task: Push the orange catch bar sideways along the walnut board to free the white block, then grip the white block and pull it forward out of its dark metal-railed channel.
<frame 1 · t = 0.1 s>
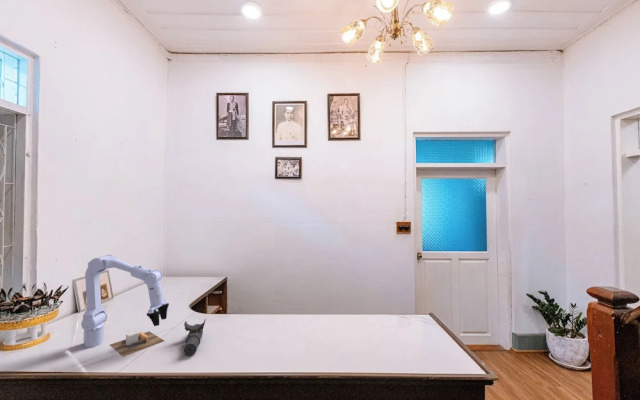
hand: (160, 322, 142), 11 cm above the counter, tool pointing down, fingers open, 7 cm apart
laser sight: (194, 345, 141), on the counter
catch bar: (143, 337, 143), point 2 cm above the counter, slide at 0.0 cm
base board: (137, 344, 140), on the counter
white block: (132, 343, 139), point 1 cm above the counter, touching base board
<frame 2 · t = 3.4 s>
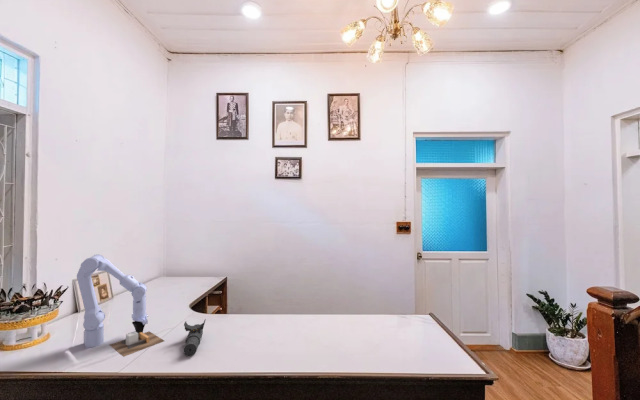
hand: (139, 334, 147), 2 cm above the counter, tool pointing down, fingers closed
catch bar: (144, 337, 143), point 2 cm above the counter, slide at 0.4 cm, touching gripper
everything else where it was.
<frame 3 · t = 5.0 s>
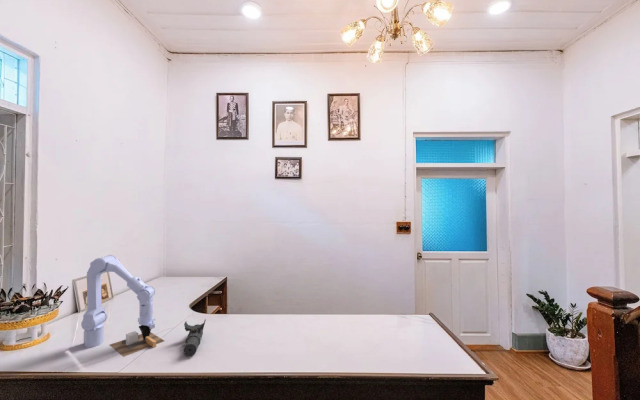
hand: (146, 339, 142), 2 cm above the counter, tool pointing down, fingers closed, pressing on base board
catch bar: (150, 341, 139), point 2 cm above the counter, slide at 8.0 cm, touching gripper
everything else where it was.
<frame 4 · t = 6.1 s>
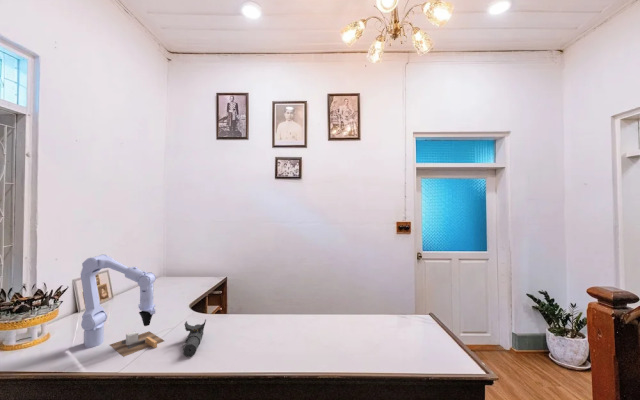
hand: (146, 325, 141), 9 cm above the counter, tool pointing down, fingers closed
catch bar: (151, 342, 138), point 2 cm above the counter, slide at 8.9 cm
everything else where it was.
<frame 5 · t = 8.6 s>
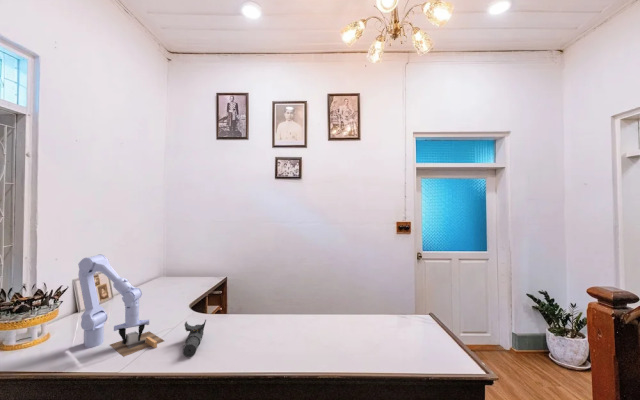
hand: (132, 342, 139), 2 cm above the counter, tool pointing down, fingers closed on white block, 5 cm apart
white block: (132, 343, 139), point 1 cm above the counter, touching base board, gripper
everything else where it was.
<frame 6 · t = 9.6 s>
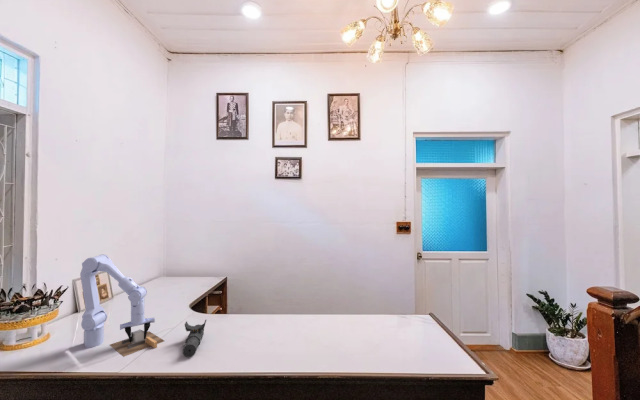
hand: (137, 340, 141), 2 cm above the counter, tool pointing down, fingers closed on white block, 5 cm apart
white block: (137, 341, 141), point 1 cm above the counter, touching gripper
everything else where it was.
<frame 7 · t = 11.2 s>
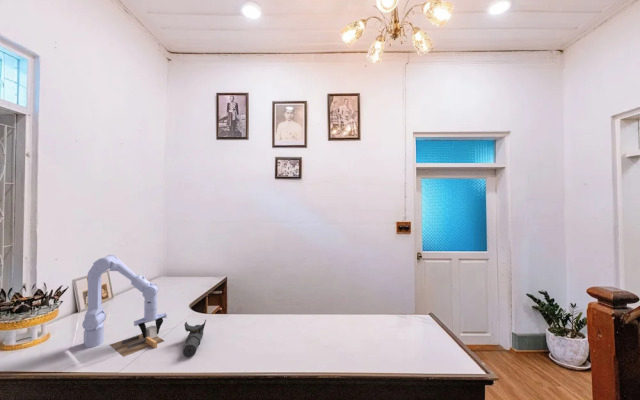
hand: (150, 335, 146), 2 cm above the counter, tool pointing down, fingers closed on white block, 5 cm apart
white block: (150, 337, 146), point 1 cm above the counter, touching base board, gripper
everything else where it was.
when the fingers open (2 cm above the counter, at t = 11.2 s): white block stays where it is, resting on base board.
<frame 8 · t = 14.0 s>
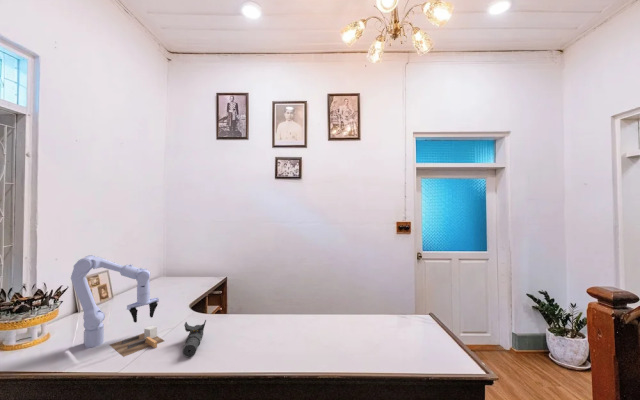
hand: (143, 319, 148), 9 cm above the counter, tool pointing down, fingers open, 7 cm apart
white block: (150, 337, 146), point 1 cm above the counter, touching base board
at the end: catch bar slide at 8.9 cm; white block 0.8 cm from the target spot, point 1.0 cm above the counter; white block tilted 0° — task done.
